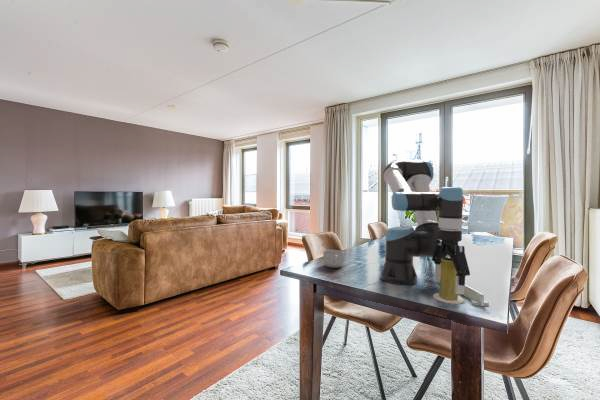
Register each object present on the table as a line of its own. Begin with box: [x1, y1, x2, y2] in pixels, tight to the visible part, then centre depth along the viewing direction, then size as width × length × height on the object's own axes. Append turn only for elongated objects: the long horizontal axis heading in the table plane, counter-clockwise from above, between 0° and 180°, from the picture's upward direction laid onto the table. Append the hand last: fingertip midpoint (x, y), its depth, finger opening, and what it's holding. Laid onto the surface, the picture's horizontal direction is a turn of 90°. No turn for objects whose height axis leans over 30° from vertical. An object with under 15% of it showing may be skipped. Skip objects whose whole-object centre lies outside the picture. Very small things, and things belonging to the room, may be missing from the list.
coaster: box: [432, 292, 465, 305], centre depth 102 cm, size 10×10×1 cm
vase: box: [438, 256, 459, 300], centre depth 102 cm, size 6×6×14 cm
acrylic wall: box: [436, 281, 490, 307], centre depth 108 cm, size 5×26×4 cm, turn 2°
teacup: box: [323, 249, 345, 269], centre depth 143 cm, size 14×11×8 cm
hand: (448, 287), depth 102 cm, fingers open, 13 cm apart
